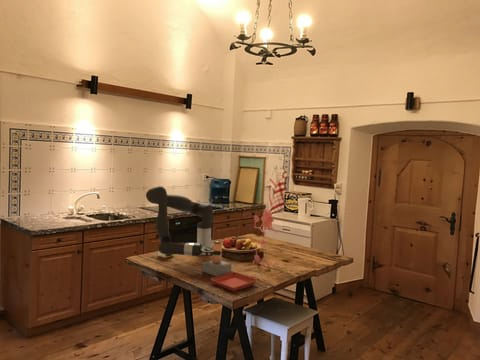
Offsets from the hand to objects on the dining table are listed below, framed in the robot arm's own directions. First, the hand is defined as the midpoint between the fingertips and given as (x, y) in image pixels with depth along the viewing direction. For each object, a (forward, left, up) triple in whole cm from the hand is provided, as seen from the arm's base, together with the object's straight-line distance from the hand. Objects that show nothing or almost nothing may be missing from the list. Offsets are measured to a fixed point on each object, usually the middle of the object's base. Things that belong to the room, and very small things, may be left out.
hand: (221, 252), depth 233 cm
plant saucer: (+9, +19, -12) cm, 24 cm away
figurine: (-31, +9, -12) cm, 34 cm away
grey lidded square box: (+1, -2, -12) cm, 12 cm away
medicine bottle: (+3, -47, -12) cm, 49 cm away
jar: (+2, -2, -6) cm, 7 cm away
